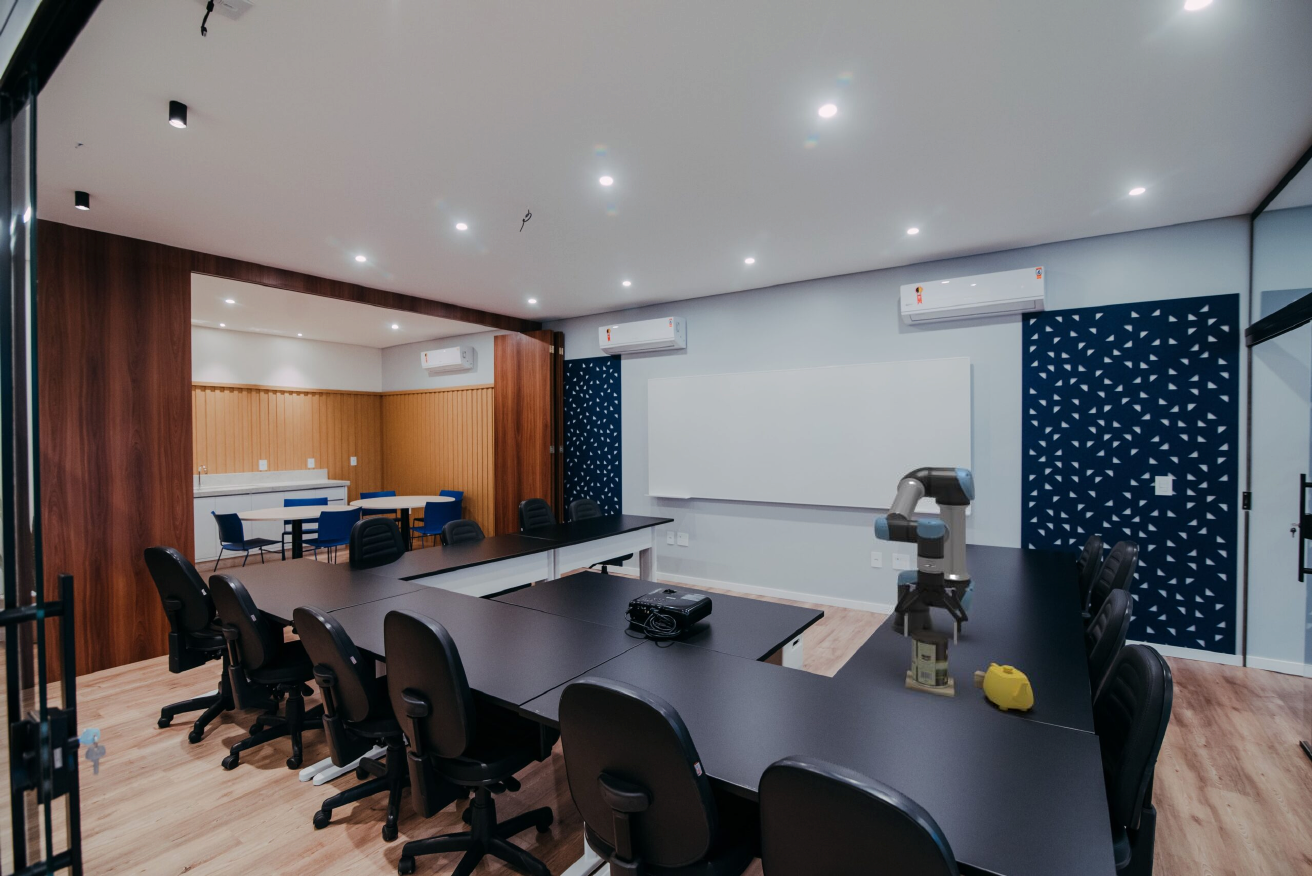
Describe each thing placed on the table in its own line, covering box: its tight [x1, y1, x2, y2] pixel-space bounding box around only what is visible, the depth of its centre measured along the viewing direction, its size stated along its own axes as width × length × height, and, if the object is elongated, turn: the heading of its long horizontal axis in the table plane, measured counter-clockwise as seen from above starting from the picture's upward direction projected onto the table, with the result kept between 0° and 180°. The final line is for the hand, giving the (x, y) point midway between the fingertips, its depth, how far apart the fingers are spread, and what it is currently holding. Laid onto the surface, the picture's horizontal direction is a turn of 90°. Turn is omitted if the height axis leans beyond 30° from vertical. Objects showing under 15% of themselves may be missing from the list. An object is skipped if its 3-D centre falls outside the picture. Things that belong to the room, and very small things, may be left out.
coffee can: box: [911, 630, 949, 689], centre depth 173 cm, size 10×10×14 cm
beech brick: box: [973, 670, 987, 690], centre depth 171 cm, size 6×3×4 cm, turn 44°
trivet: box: [904, 669, 955, 698], centre depth 173 cm, size 13×13×1 cm
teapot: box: [983, 662, 1034, 712], centre depth 159 cm, size 18×11×11 cm, turn 177°
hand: (930, 639), depth 173 cm, fingers open, 13 cm apart
